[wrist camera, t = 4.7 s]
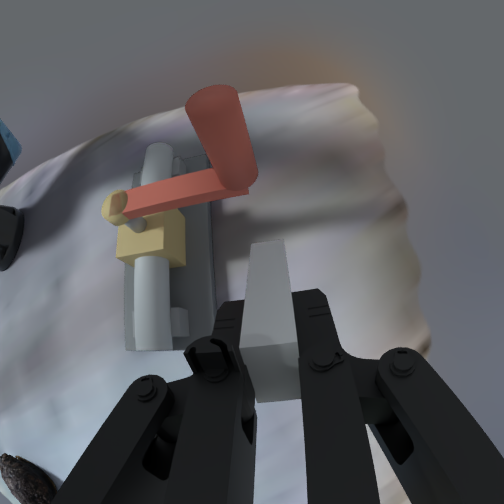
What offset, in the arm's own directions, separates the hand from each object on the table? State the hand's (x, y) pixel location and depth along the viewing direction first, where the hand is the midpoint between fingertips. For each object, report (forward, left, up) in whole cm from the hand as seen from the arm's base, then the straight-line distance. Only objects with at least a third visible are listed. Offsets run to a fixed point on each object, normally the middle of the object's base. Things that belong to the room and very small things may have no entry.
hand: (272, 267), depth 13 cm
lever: (-8, +10, -7) cm, 14 cm away
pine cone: (-53, -34, -18) cm, 66 cm away
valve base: (-14, +10, -18) cm, 25 cm away
